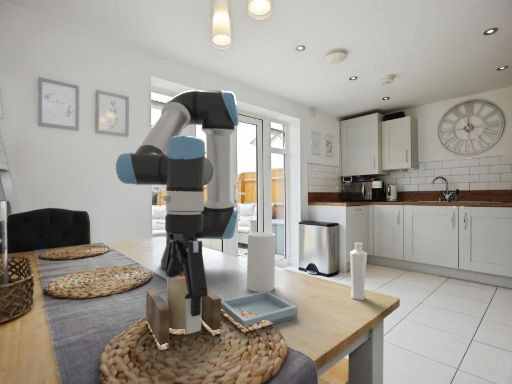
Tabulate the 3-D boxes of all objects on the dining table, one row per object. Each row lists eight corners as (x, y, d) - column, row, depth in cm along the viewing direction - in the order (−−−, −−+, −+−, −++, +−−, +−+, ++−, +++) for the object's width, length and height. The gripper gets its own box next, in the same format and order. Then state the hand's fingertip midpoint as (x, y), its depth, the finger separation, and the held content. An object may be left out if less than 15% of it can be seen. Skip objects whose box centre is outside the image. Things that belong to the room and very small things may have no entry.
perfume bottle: (355, 301, 72) (356, 244, 73) (346, 295, 77) (347, 241, 77) (370, 299, 74) (371, 244, 74) (360, 294, 78) (361, 241, 78)
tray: (218, 311, 64) (218, 300, 64) (266, 299, 72) (267, 290, 72) (243, 333, 54) (244, 321, 54) (297, 317, 62) (297, 306, 62)
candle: (184, 319, 60) (186, 274, 60) (201, 328, 56) (202, 279, 56) (162, 329, 55) (163, 279, 55) (178, 338, 52) (179, 285, 52)
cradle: (145, 323, 58) (146, 290, 58) (198, 311, 64) (199, 281, 64) (159, 351, 48) (160, 310, 48) (220, 334, 54) (221, 298, 54)
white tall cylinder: (272, 293, 77) (273, 236, 77) (243, 290, 79) (245, 235, 79) (275, 284, 85) (277, 232, 85) (250, 282, 87) (251, 231, 87)
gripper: (152, 209, 64) (149, 300, 64) (186, 218, 44) (182, 352, 43) (183, 209, 68) (181, 295, 68) (228, 217, 48) (225, 340, 47)
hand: (181, 317), depth 56 cm, fingers open, 12 cm apart
